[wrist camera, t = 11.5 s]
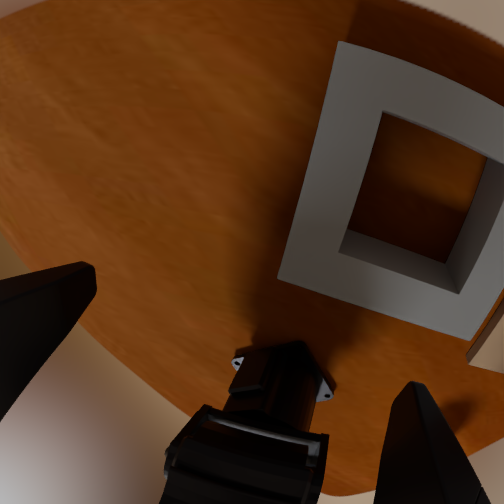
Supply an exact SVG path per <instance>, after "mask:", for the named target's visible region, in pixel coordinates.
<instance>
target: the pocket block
mask: <svg viewBox="0 0 504 504" xmlns="http://www.w3.org/2000/svg"><path fill="white" fill-rule="evenodd" d="M382 112H384V113H386V114H389V115H392V116H395V117H398V118H400V119H403V120H406V121H408V122H411V123H413V124H416V125H418V126H421V127H423V128H426V129H428V130H431V131H433V132H435V133H438V134H440V135H442V136H444V137H447V138H449V139H451V140H453V141H456V142H458V143H460V144H462V145H464V146H466V147H468V148H470V149H472V150H474V151H476V152H478V153H480V154H482V155H484V156H486V157H488V158H487V161H486V164H485V167H484V170H483V173H482V176H481V179H480V182H479V185H478V188H477V190H476V193H475V196H474V198H473V201H472V204H471V206H470V209H469V211H468V214H467V216H466V219H465V221H464V223H463V226H462V228H461V230H460V233H459V235H458V237H457V239H456V242H455V244H454V246H453V248H452V250H451V252H450V255H449V257H448V259H447V261H446V263H445V264H444V263H441V262H438V261H436V260H433V259H430V258H428V257H425V256H422V255H420V254H417V253H414V252H412V251H409V250H406V249H403V248H401V247H398V246H395V245H392V244H389V243H387V242H384V241H381V240H378V239H375V238H372V237H370V236H367V235H364V234H361V233H358V232H355V231H352V230H349V229H346V228H347V226H348V223H349V220H350V217H351V214H352V211H353V208H354V205H355V202H356V199H357V196H358V193H359V190H360V186H361V183H362V180H363V177H364V174H365V171H366V167H367V164H368V161H369V157H370V154H371V151H372V147H373V144H374V140H375V137H376V133H377V130H378V126H379V122H380V119H381V115H382ZM277 279H279V280H282V281H285V282H288V283H291V284H294V285H297V286H300V287H303V288H306V289H309V290H312V291H315V292H318V293H321V294H324V295H327V296H330V297H333V298H336V299H339V300H342V301H345V302H348V303H351V304H355V305H358V306H361V307H364V308H367V309H370V310H373V311H376V312H379V313H382V314H385V315H389V316H392V317H395V318H398V319H401V320H404V321H407V322H410V323H414V324H417V325H420V326H423V327H426V328H429V329H433V330H436V331H439V332H442V333H445V334H449V335H452V336H455V337H458V338H462V339H465V340H468V341H470V340H471V339H472V337H473V336H474V334H475V333H476V331H477V330H478V328H479V327H480V325H481V324H482V322H483V321H484V319H485V318H486V316H487V315H488V313H489V311H490V310H491V308H492V306H493V305H494V303H495V301H496V300H497V298H498V296H499V295H500V293H501V291H502V289H503V288H504V107H503V106H501V105H499V104H497V103H496V102H494V101H492V100H490V99H488V98H486V97H485V96H483V95H481V94H479V93H477V92H475V91H473V90H471V89H469V88H467V87H465V86H463V85H461V84H459V83H457V82H455V81H452V80H450V79H448V78H446V77H444V76H441V75H439V74H437V73H434V72H432V71H430V70H427V69H425V68H422V67H420V66H417V65H414V64H412V63H409V62H406V61H404V60H401V59H398V58H395V57H392V56H389V55H386V54H383V53H380V52H377V51H374V50H371V49H367V48H364V47H361V46H357V45H353V44H350V43H346V42H342V41H338V45H337V49H336V54H335V58H334V62H333V67H332V71H331V75H330V79H329V84H328V88H327V92H326V96H325V100H324V104H323V108H322V112H321V116H320V120H319V124H318V128H317V132H316V136H315V140H314V144H313V148H312V152H311V156H310V160H309V163H308V167H307V171H306V175H305V179H304V182H303V186H302V190H301V194H300V197H299V201H298V205H297V208H296V212H295V216H294V219H293V223H292V227H291V230H290V234H289V237H288V241H287V244H286V248H285V252H284V255H283V259H282V262H281V266H280V269H279V272H278V276H277Z"/></svg>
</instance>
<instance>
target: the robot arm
mask: <svg viewBox="0 0 504 504" xmlns="http://www.w3.org/2000/svg"><path fill="white" fill-rule="evenodd" d="M96 292H97V284H96V274H95V268H94V266H92V265H91V264H88V263H86V262H84V261H80V262H76V263H71V264H67V265H62V266H58V267H54V268H49V269H45V270H41V271H36V272H32V273H28V274H24V275H19V276H15V277H11V278H7V279H3V280H0V422H1V420H2V419H3V417H4V416H5V415H6V413H7V412H8V410H9V409H10V408H11V406H12V405H13V404H14V402H15V401H16V399H17V398H18V397H19V395H20V394H21V393H22V391H23V390H24V389H25V387H26V386H27V385H28V384H29V382H30V381H31V380H32V378H33V377H34V376H35V375H36V373H37V372H38V371H39V369H40V368H41V367H42V366H43V364H44V363H45V362H46V361H47V359H48V358H49V357H50V356H51V354H52V353H53V352H54V351H55V350H56V348H57V347H58V346H59V345H60V343H61V342H62V341H63V340H64V339H65V337H66V336H67V335H68V333H69V332H70V331H71V329H72V328H73V327H74V325H75V324H76V322H77V321H78V319H79V318H80V317H81V315H82V314H83V312H84V311H85V309H86V308H87V307H88V305H89V304H90V302H91V301H92V300H93V298H94V297H95V295H96ZM297 347H301V348H297ZM237 361H238V362H237ZM232 365H233V366H234V367H235V369H236V370H237V373H236V375H235V377H234V379H233V381H232V383H231V385H230V387H229V390H228V392H229V394H230V396H229V398H228V400H227V402H226V404H225V406H224V408H223V410H218V409H215V408H212V406H210V405H206V404H204V405H203V406H202V407H201V408H200V410H199V411H197V412H196V413H195V414H194V416H193V417H192V418H191V419H190V421H189V422H188V423H187V424H186V425H185V426H184V428H183V429H182V430H181V431H180V433H179V434H178V435H177V436H176V437H175V438H174V440H173V441H172V442H171V443H170V446H169V447H168V448H167V449H166V451H165V456H166V461H165V465H164V476H165V478H166V479H167V482H166V485H165V488H164V492H163V495H162V497H161V500H160V502H159V504H317V501H318V498H319V495H320V492H321V488H322V484H323V480H324V474H325V466H326V459H327V451H328V443H329V434H323V433H321V434H316V433H311V432H309V429H310V425H311V421H312V416H313V412H314V408H315V403H316V402H319V401H324V400H329V399H332V398H333V396H334V391H333V389H332V387H331V386H330V384H329V382H328V381H327V379H326V377H325V376H324V374H323V372H322V371H321V369H320V367H319V366H318V364H317V362H316V361H315V359H314V357H313V356H312V354H311V352H310V351H309V349H308V347H307V345H306V344H305V343H304V342H302V341H294V342H291V343H287V344H283V345H279V346H275V347H269V348H265V349H261V350H257V351H252V352H248V353H246V354H242V355H237V356H234V358H233V359H232ZM373 504H491V503H490V500H489V499H488V497H487V495H486V493H485V491H484V489H483V487H481V483H480V481H479V479H478V477H477V475H476V473H475V471H474V469H473V467H472V466H471V464H470V462H469V460H468V458H467V456H466V454H465V453H464V451H463V449H462V447H461V445H460V443H459V442H458V440H457V438H456V436H455V435H454V433H453V431H452V429H451V428H450V426H449V424H448V422H447V421H446V419H445V417H444V416H443V414H442V412H441V411H440V409H439V407H438V405H437V404H436V402H435V400H434V399H433V397H432V396H431V394H430V392H429V391H428V389H427V387H426V386H425V385H424V384H422V383H419V382H415V381H410V382H409V383H408V384H407V385H406V386H405V387H404V388H403V390H402V391H401V392H400V393H399V395H398V396H397V397H396V398H395V400H394V401H393V404H392V407H391V412H390V417H389V422H388V427H387V431H386V436H385V440H384V445H383V449H382V454H381V459H380V466H379V473H378V479H377V486H376V492H375V497H374V503H373Z"/></svg>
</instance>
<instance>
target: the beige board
mask: <svg viewBox="0 0 504 504" xmlns="http://www.w3.org/2000/svg"><path fill="white" fill-rule="evenodd" d="M466 358H467V361H468V364H469V365H473V366H476V367H480V368H484V369H488V370H492V371H496V372H500V373H504V299H503V300H502V302H501V304H500V305H499V307H498V309H497V310H496V312H495V313H494V315H493V317H492V318H491V320H490V321H489V323H488V324H487V326H486V327H485V329H484V330H483V332H482V333H481V335H480V336H479V338H478V339H477V341H476V342H475V343H474V345H473V346H472V348H471V349H470V350H469V352H468V353H467V354H466Z"/></svg>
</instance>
